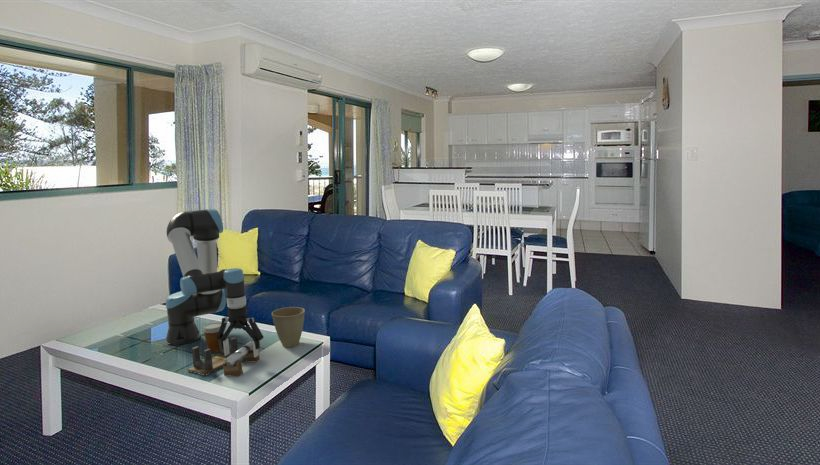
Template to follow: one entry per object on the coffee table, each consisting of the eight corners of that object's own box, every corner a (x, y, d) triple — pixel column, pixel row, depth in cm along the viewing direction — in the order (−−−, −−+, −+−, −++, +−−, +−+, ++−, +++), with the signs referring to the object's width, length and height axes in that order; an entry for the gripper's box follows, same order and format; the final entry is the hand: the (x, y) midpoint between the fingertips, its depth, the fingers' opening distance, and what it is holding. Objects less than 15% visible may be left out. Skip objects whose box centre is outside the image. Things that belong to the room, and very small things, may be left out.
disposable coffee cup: (206, 356, 224) (203, 330, 222) (203, 349, 232) (201, 324, 230) (228, 351, 228) (225, 326, 226) (225, 345, 237) (222, 320, 235)
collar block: (188, 371, 208) (185, 350, 206) (227, 353, 226) (225, 333, 225) (205, 375, 203) (202, 353, 202) (243, 356, 222) (241, 336, 220)
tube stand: (238, 376, 201) (237, 363, 201) (224, 375, 203) (222, 363, 202) (260, 359, 218) (259, 347, 217) (246, 358, 219) (245, 347, 218)
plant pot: (305, 349, 227) (302, 315, 225) (271, 351, 226) (268, 317, 224) (308, 337, 242) (306, 305, 239) (277, 339, 241) (274, 307, 238)
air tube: (234, 367, 201) (233, 357, 200) (225, 366, 202) (223, 356, 201) (257, 350, 218) (256, 340, 217) (248, 349, 219) (247, 340, 218)
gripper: (204, 308, 205) (209, 357, 209) (259, 309, 200) (264, 360, 203) (215, 303, 213) (220, 350, 216) (268, 304, 207) (273, 353, 210)
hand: (241, 355), depth 209 cm, fingers open, 13 cm apart
